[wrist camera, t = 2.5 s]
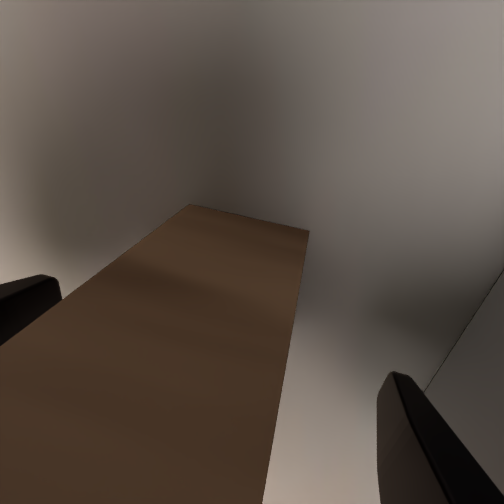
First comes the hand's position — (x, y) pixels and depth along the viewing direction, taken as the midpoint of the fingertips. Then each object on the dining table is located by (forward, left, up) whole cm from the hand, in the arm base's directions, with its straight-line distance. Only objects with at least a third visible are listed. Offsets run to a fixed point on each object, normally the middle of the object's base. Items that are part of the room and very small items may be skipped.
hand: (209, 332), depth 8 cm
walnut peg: (0, 0, -3) cm, 3 cm away
